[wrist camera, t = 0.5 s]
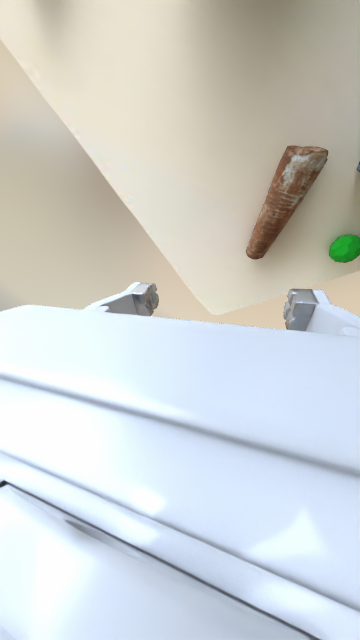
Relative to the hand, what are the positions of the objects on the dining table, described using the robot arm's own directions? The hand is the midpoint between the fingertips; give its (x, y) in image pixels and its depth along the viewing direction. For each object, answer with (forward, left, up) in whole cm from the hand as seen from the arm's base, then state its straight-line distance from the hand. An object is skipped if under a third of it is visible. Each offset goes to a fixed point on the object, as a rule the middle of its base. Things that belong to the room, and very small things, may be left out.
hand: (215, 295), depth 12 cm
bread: (+5, +7, -35) cm, 36 cm away
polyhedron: (+12, +20, -35) cm, 42 cm away
